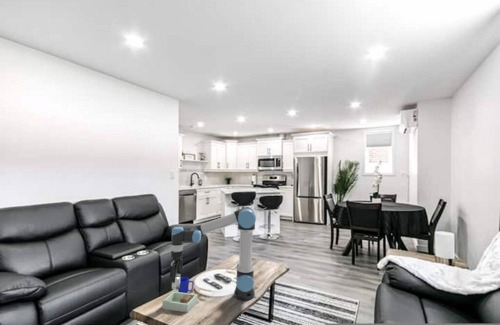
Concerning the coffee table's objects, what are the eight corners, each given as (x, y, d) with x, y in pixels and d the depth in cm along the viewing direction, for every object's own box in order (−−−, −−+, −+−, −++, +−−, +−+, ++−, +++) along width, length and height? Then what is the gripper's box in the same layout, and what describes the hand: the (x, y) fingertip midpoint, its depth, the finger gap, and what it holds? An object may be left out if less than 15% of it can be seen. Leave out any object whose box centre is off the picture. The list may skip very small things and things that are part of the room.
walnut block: (190, 303, 177) (190, 296, 177) (186, 307, 172) (186, 299, 172) (183, 302, 178) (184, 295, 178) (180, 306, 173) (180, 298, 174)
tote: (197, 302, 180) (197, 294, 181) (187, 312, 167) (187, 304, 167) (173, 298, 185) (173, 291, 185) (162, 308, 171) (162, 301, 171)
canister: (180, 286, 178) (181, 276, 178) (177, 290, 173) (177, 279, 174) (174, 285, 179) (174, 275, 180) (170, 289, 175) (170, 278, 175)
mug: (190, 296, 188) (191, 282, 189) (175, 294, 191) (175, 280, 191) (195, 291, 196) (195, 277, 197) (180, 289, 199) (180, 276, 199)
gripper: (178, 246, 187) (177, 279, 186) (164, 254, 169) (163, 290, 169) (188, 247, 185) (187, 280, 184) (175, 255, 168) (174, 291, 167)
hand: (176, 285), depth 176 cm, fingers closed on canister, 5 cm apart
